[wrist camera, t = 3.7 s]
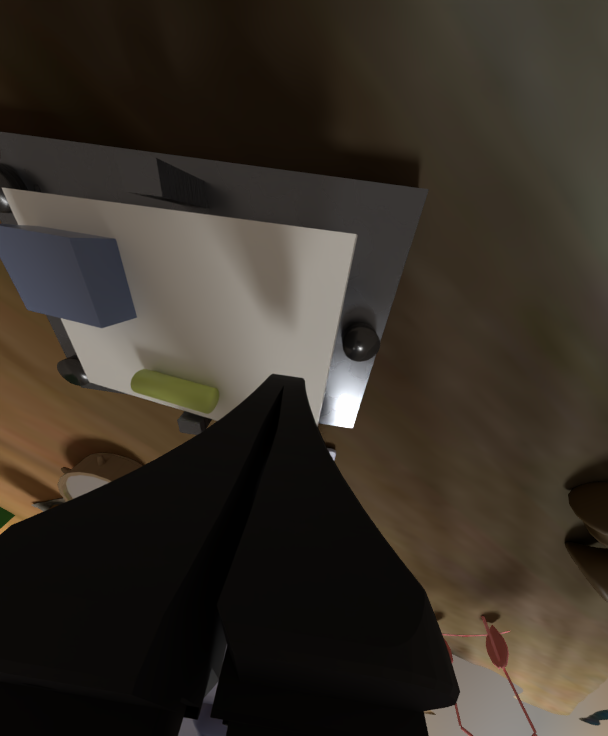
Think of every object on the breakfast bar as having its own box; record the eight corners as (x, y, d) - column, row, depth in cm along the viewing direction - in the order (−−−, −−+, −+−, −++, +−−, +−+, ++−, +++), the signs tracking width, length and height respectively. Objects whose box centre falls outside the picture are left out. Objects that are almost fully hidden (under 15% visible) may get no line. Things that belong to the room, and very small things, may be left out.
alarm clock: (96, 460, 24) (173, 552, 28) (135, 432, 28) (197, 515, 32) (37, 480, 27) (114, 560, 31) (81, 452, 32) (143, 525, 36)
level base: (418, 194, 13) (473, 167, 8) (350, 416, 21) (357, 467, 16) (-9, 136, 13) (-202, 77, 8) (95, 378, 22) (30, 417, 17)
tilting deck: (357, 235, 9) (352, 231, 7) (315, 437, 15) (304, 476, 13) (27, 191, 12) (-65, 177, 10) (102, 375, 18) (58, 396, 16)
